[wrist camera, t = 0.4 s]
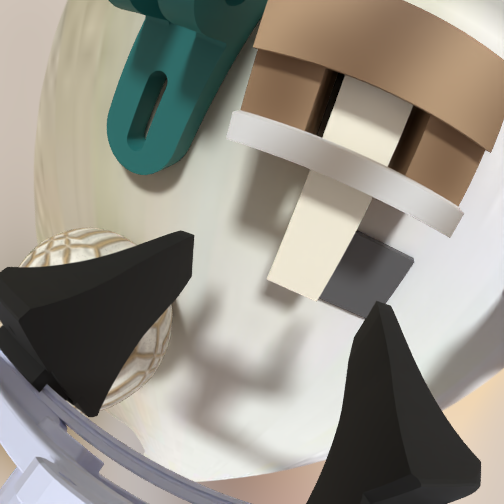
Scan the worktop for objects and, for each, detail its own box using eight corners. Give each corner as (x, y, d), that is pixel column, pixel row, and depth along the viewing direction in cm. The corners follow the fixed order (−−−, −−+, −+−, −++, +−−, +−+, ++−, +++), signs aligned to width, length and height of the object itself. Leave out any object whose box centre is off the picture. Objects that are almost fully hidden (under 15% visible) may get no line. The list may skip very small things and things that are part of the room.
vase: (150, 343, 34) (60, 458, 18) (70, 250, 31) (-42, 345, 15) (230, 307, 26) (102, 505, 9) (116, 170, 22) (-84, 299, 6)
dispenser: (465, 77, 10) (519, 71, 5) (420, 188, 15) (450, 237, 10) (308, 10, 12) (278, -35, 6) (272, 123, 16) (225, 138, 11)
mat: (413, 258, 17) (414, 261, 17) (372, 316, 21) (372, 320, 20) (350, 227, 18) (350, 231, 18) (316, 292, 22) (315, 296, 21)
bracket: (210, -52, 11) (141, -92, 4) (295, -29, 11) (251, -91, 4) (117, 142, 21) (43, 170, 15) (175, 182, 21) (103, 225, 15)
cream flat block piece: (401, 90, 13) (420, 86, 8) (328, 252, 20) (316, 301, 15) (353, 69, 13) (351, 54, 9) (289, 234, 20) (266, 279, 16)
